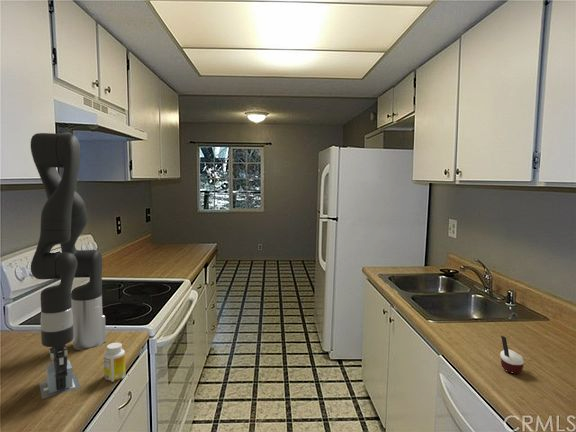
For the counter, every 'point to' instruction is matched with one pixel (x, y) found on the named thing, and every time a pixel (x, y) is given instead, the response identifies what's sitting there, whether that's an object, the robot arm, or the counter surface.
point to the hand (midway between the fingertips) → (59, 383)
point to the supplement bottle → (114, 362)
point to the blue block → (52, 379)
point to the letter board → (46, 393)
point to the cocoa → (511, 359)
